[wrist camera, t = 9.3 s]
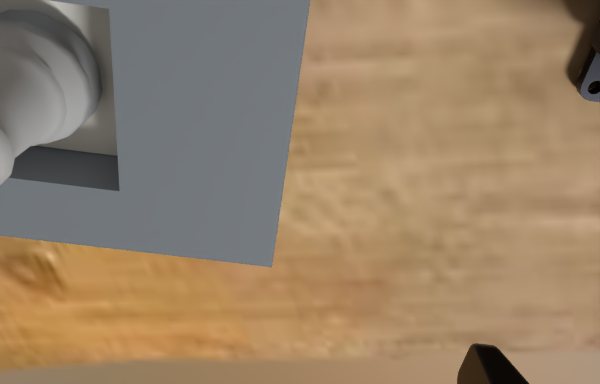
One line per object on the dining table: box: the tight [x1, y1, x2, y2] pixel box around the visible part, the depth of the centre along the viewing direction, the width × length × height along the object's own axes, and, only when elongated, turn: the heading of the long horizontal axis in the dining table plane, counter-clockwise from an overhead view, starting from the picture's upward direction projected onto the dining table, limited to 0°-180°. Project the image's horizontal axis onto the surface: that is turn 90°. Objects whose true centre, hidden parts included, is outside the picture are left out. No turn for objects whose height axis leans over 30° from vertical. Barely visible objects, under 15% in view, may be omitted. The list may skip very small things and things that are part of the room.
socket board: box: [0, 0, 310, 267], centre depth 19 cm, size 18×12×2 cm, turn 82°
